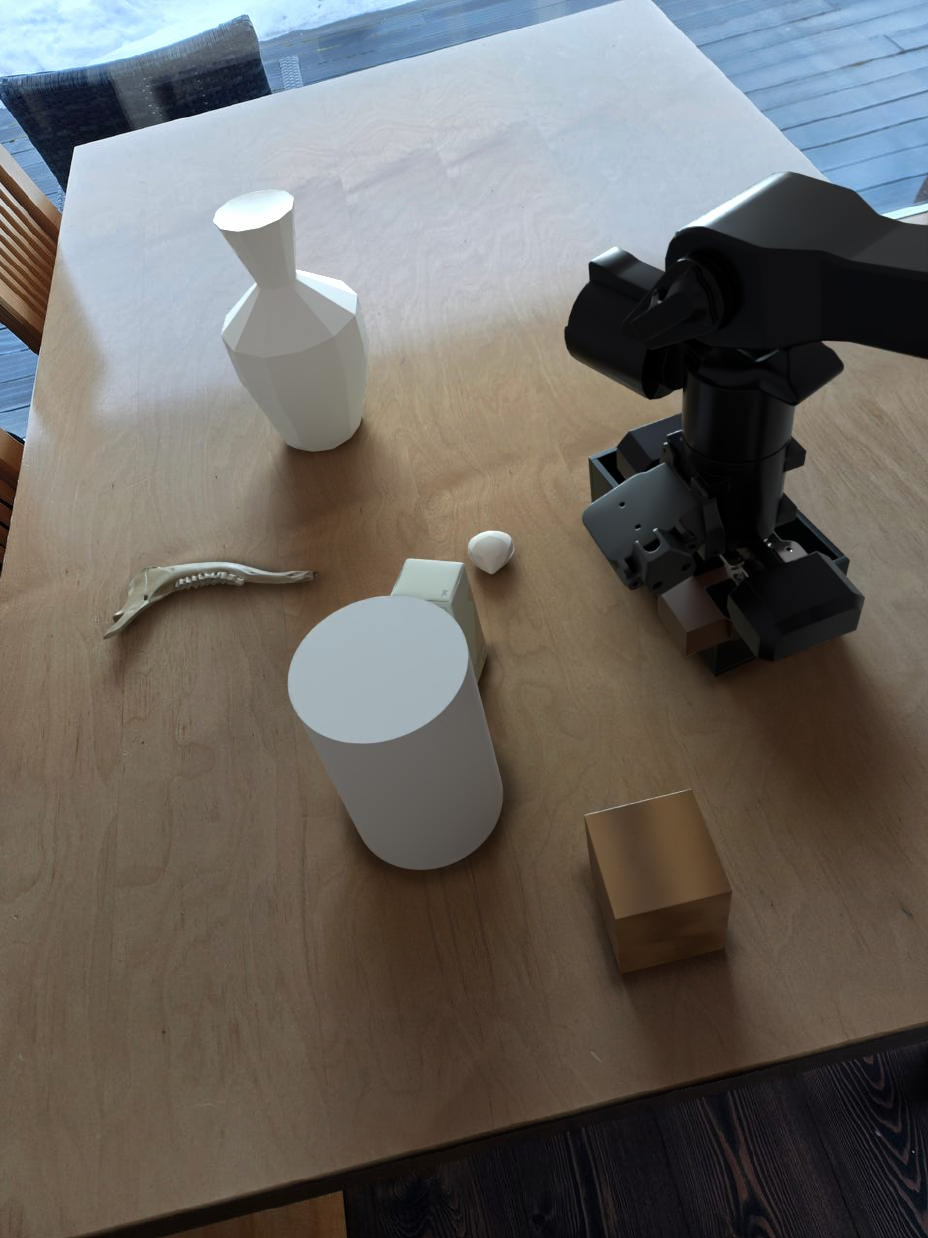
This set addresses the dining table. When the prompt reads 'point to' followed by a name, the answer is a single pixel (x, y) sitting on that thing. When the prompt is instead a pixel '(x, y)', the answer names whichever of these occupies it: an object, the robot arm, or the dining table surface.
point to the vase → (293, 329)
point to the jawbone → (190, 584)
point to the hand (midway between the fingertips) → (720, 614)
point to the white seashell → (491, 550)
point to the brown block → (694, 612)
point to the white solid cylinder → (400, 728)
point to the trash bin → (799, 531)
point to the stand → (658, 880)
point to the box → (446, 599)
